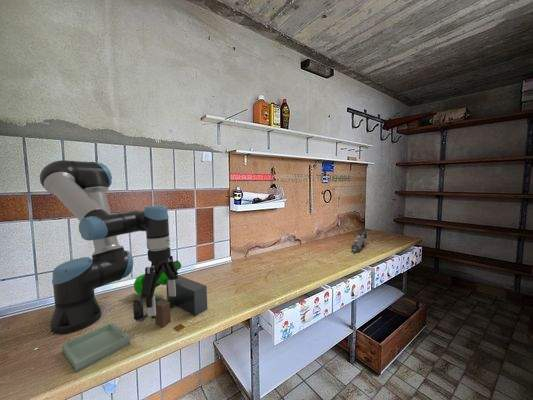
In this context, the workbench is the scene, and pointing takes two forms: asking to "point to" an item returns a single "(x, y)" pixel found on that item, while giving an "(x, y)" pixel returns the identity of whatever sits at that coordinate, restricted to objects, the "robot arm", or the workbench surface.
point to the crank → (141, 309)
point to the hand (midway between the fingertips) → (162, 304)
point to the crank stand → (188, 297)
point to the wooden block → (162, 313)
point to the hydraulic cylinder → (359, 241)
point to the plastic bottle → (162, 280)
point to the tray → (94, 346)
